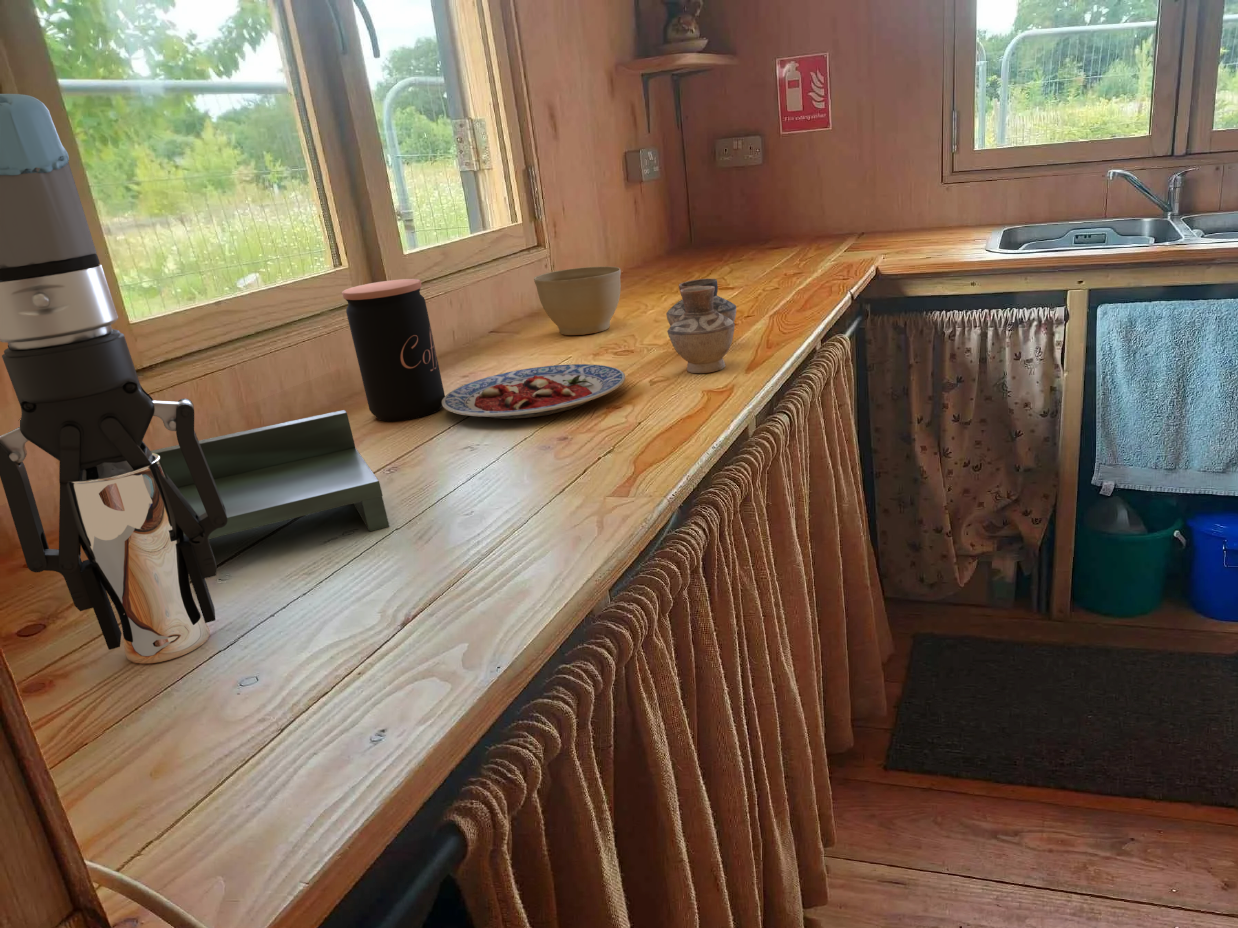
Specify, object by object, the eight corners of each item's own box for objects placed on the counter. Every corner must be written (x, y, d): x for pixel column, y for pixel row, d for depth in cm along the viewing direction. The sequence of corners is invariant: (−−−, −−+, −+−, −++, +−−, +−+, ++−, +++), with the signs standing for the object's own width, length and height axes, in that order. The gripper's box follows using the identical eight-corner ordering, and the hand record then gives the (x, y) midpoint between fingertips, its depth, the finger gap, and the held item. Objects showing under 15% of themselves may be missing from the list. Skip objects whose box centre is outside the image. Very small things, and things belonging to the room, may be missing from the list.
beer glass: (167, 621, 81) (112, 451, 76) (235, 626, 79) (183, 451, 74) (99, 664, 75) (34, 481, 70) (170, 670, 73) (109, 482, 67)
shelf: (150, 537, 101) (122, 456, 98) (363, 486, 110) (344, 409, 107) (146, 591, 88) (114, 499, 85) (390, 528, 96) (369, 441, 93)
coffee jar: (421, 422, 134) (392, 290, 127) (356, 423, 137) (325, 295, 130) (460, 400, 143) (435, 276, 136) (399, 401, 146) (371, 281, 140)
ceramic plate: (465, 443, 122) (460, 420, 120) (430, 402, 144) (426, 382, 143) (654, 401, 130) (652, 380, 129) (593, 369, 153) (591, 350, 151)
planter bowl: (592, 341, 174) (583, 280, 170) (525, 339, 182) (515, 281, 178) (644, 322, 186) (637, 264, 182) (579, 321, 194) (571, 266, 190)
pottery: (668, 381, 140) (658, 298, 136) (671, 345, 163) (662, 273, 159) (746, 373, 140) (739, 289, 135) (738, 338, 163) (731, 265, 158)
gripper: (-118, 372, 61) (17, 688, 69) (210, 318, 68) (295, 610, 77) (-90, 354, 67) (30, 646, 76) (207, 307, 74) (285, 577, 83)
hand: (163, 627), depth 76 cm, fingers closed on beer glass, 6 cm apart
